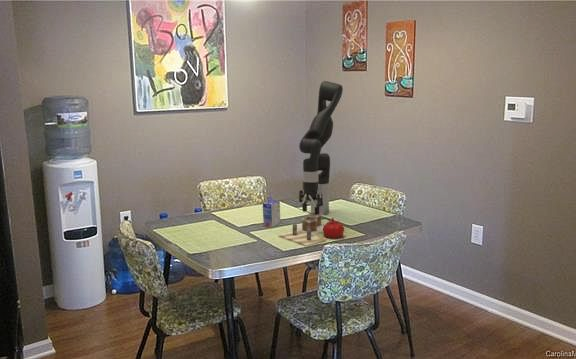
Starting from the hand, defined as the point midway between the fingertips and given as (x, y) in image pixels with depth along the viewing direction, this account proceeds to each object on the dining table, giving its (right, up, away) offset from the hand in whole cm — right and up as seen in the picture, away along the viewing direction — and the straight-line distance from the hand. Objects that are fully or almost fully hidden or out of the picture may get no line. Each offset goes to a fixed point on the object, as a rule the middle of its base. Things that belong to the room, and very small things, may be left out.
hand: (310, 212), depth 262 cm
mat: (+1, -8, +6) cm, 10 cm away
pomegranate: (+10, -11, -8) cm, 17 cm away
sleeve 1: (-1, -9, +2) cm, 9 cm away
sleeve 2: (+2, -7, +11) cm, 13 cm away
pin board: (-5, -12, -11) cm, 17 cm away
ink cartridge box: (-19, -7, +14) cm, 25 cm away
